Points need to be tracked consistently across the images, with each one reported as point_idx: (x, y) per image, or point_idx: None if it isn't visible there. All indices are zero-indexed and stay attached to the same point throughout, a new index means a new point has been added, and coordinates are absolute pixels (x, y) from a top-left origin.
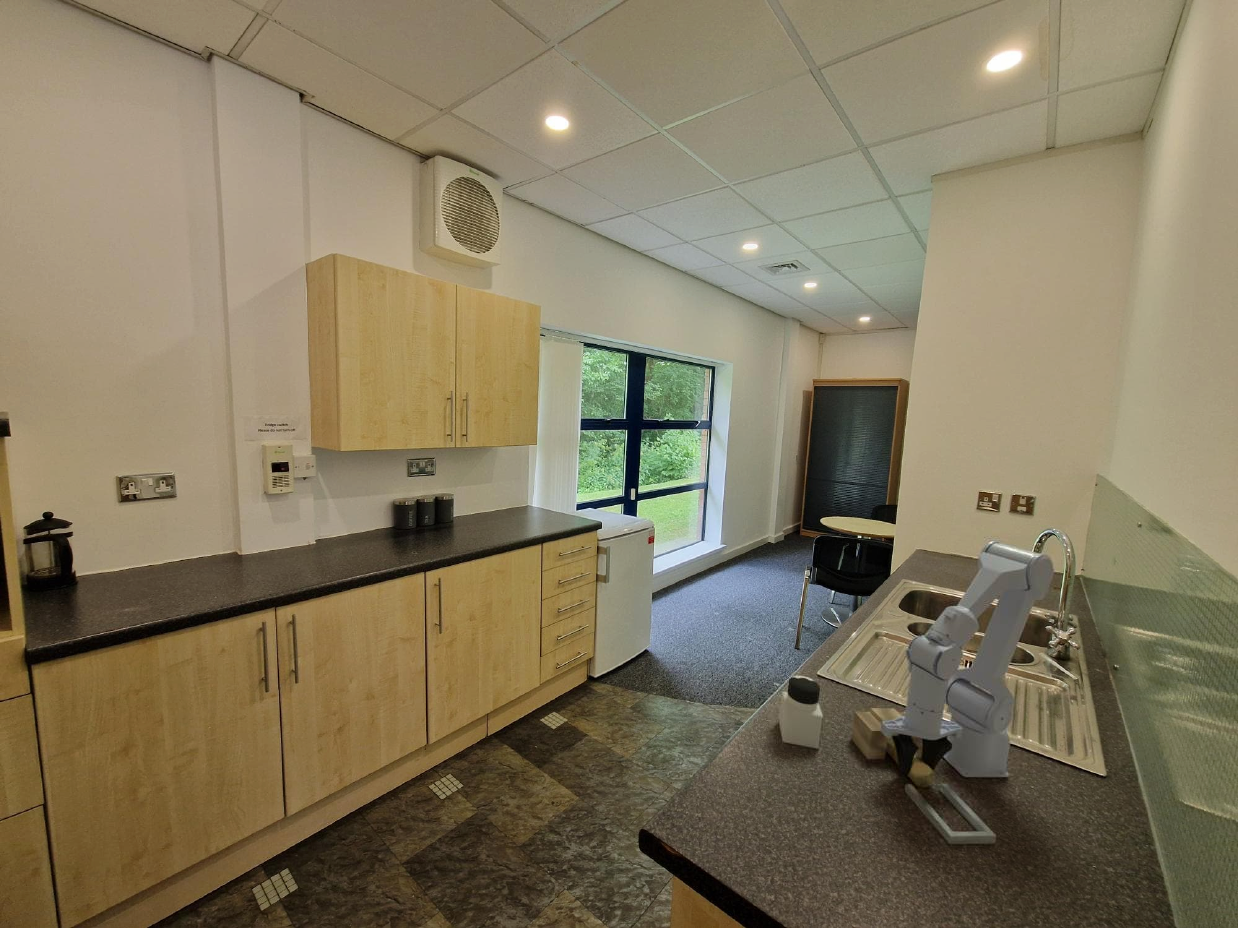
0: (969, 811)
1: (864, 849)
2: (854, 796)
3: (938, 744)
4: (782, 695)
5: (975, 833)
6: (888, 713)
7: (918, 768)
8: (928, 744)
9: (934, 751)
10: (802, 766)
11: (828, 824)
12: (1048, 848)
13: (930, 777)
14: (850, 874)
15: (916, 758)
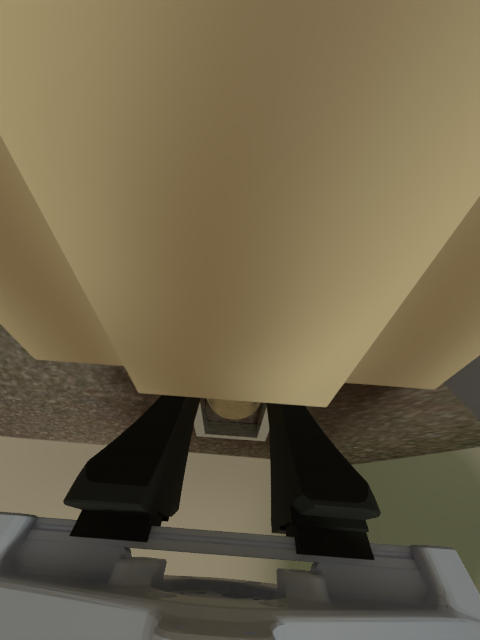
0: (265, 422)
1: (80, 416)
2: (73, 366)
3: (275, 516)
4: None
5: (237, 437)
6: (257, 219)
7: (214, 408)
8: (280, 453)
9: (272, 460)
10: None
11: (28, 393)
12: (330, 436)
13: None
14: (61, 426)
15: (230, 400)
